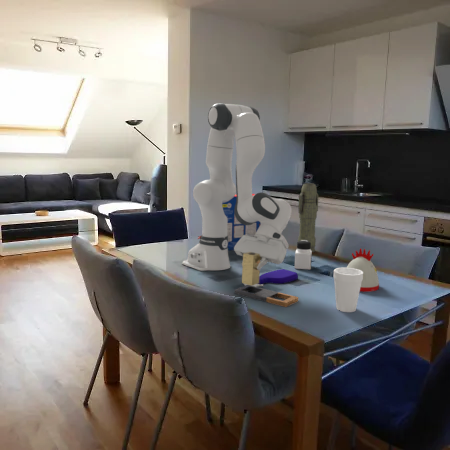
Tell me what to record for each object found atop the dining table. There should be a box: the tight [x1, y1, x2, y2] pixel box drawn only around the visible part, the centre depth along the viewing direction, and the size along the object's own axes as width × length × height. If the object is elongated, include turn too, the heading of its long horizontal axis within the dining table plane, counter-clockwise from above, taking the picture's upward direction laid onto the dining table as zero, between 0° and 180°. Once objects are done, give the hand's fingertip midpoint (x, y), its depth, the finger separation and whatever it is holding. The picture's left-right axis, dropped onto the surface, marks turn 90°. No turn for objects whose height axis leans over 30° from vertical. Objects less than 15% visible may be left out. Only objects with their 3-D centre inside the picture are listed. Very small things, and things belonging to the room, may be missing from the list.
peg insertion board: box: [234, 285, 299, 308], centre depth 165 cm, size 22×8×2 cm, turn 51°
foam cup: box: [333, 267, 363, 313], centre depth 154 cm, size 10×9×13 cm
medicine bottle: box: [294, 240, 313, 270], centre depth 207 cm, size 7×7×12 cm
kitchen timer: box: [345, 248, 380, 293], centre depth 180 cm, size 14×14×15 cm
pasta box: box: [222, 193, 261, 252], centre depth 242 cm, size 28×8×28 cm, turn 117°
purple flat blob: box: [243, 268, 299, 287], centre depth 185 cm, size 3×11×24 cm
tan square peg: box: [241, 252, 261, 286], centre depth 168 cm, size 4×4×11 cm
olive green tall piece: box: [297, 182, 319, 253], centre depth 237 cm, size 9×12×35 cm
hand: (250, 267), depth 167 cm, fingers closed on tan square peg, 4 cm apart
